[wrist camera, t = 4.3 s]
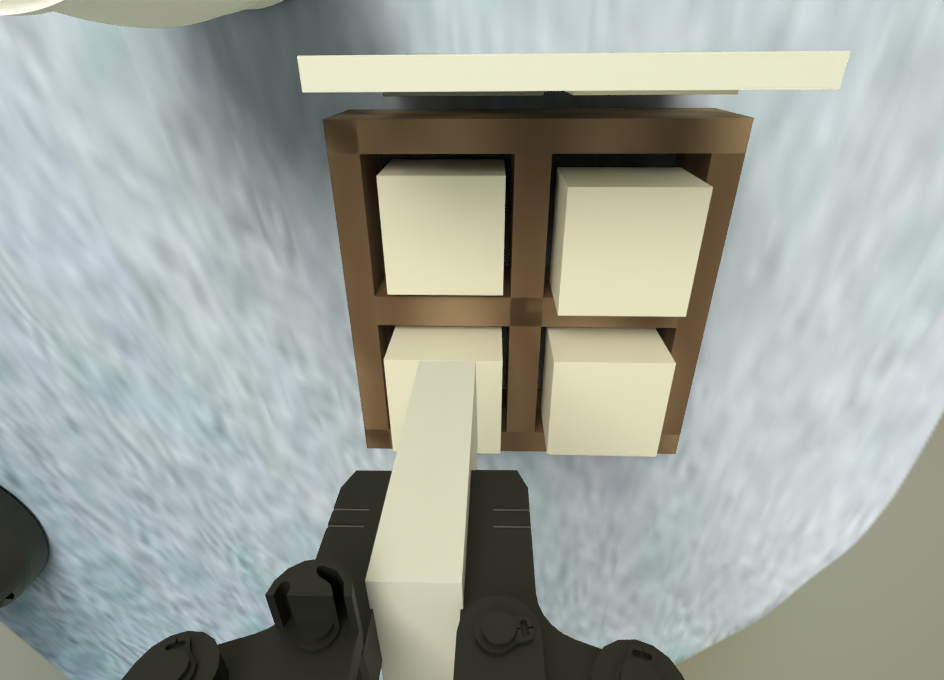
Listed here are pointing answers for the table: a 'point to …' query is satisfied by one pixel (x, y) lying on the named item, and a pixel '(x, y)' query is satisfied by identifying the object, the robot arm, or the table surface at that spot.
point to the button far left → (447, 346)
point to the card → (573, 73)
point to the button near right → (626, 240)
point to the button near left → (443, 226)
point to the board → (520, 238)
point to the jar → (135, 10)
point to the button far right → (604, 390)
